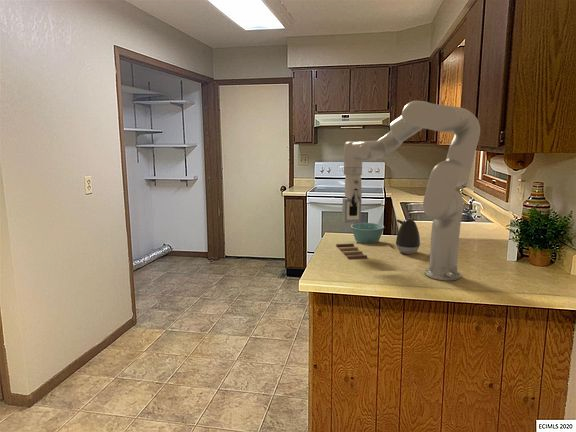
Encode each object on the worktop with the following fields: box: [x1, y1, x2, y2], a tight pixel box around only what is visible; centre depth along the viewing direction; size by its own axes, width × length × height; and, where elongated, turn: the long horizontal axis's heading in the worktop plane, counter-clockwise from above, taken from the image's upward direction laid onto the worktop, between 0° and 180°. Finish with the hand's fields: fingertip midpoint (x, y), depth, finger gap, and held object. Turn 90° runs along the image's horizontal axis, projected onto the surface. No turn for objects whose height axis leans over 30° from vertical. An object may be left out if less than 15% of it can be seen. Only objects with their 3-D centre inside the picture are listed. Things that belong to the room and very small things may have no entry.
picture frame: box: [341, 197, 362, 224], centre depth 177 cm, size 4×7×10 cm, turn 97°
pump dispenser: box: [395, 218, 421, 255], centre depth 183 cm, size 10×10×15 cm
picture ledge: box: [335, 243, 368, 260], centre depth 180 cm, size 20×8×2 cm, turn 7°
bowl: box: [350, 222, 385, 245], centre depth 202 cm, size 16×16×8 cm
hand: (351, 214), depth 177 cm, fingers closed on picture frame, 4 cm apart
